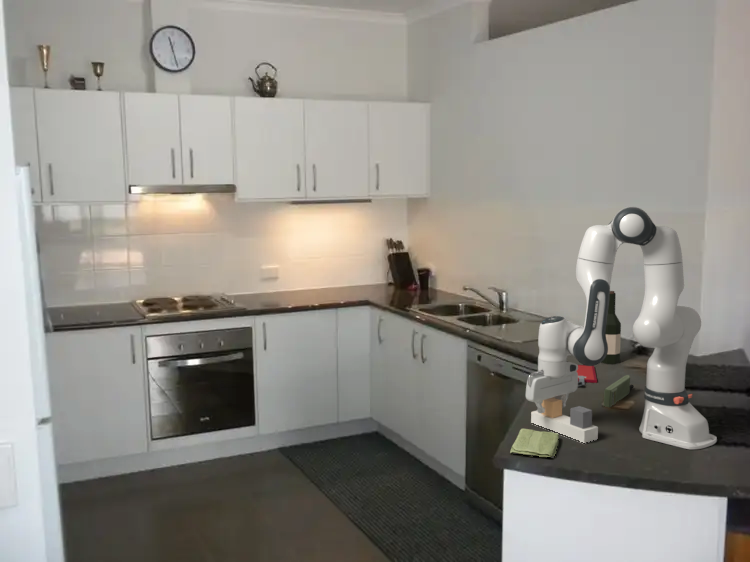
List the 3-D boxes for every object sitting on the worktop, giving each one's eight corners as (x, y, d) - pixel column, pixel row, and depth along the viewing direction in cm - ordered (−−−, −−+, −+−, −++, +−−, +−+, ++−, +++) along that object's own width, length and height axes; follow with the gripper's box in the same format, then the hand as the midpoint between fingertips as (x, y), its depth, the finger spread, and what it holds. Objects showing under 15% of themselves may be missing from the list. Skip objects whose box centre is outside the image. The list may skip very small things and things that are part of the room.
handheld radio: (601, 406, 258) (627, 388, 278) (611, 408, 256) (635, 390, 276) (602, 388, 257) (628, 371, 276) (612, 390, 255) (637, 373, 274)
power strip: (597, 439, 228) (598, 424, 227) (584, 443, 224) (584, 429, 224) (544, 419, 246) (544, 406, 245) (531, 423, 242) (531, 410, 242)
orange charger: (561, 421, 238) (562, 400, 237) (553, 424, 236) (553, 402, 235) (550, 417, 242) (550, 396, 241) (541, 420, 240) (541, 398, 239)
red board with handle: (556, 387, 281) (597, 389, 278) (556, 380, 281) (598, 382, 277) (556, 366, 310) (593, 368, 307) (556, 360, 310) (594, 362, 306)
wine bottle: (622, 360, 315) (624, 290, 310) (617, 365, 308) (619, 293, 304) (602, 358, 320) (604, 289, 315) (596, 362, 313) (598, 292, 308)
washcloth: (508, 457, 217) (508, 446, 217) (519, 436, 233) (519, 426, 233) (554, 462, 212) (554, 451, 212) (562, 440, 229) (562, 430, 228)
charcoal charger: (591, 432, 228) (592, 410, 227) (582, 435, 226) (583, 412, 225) (578, 427, 232) (579, 405, 231) (570, 430, 230) (570, 408, 229)
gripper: (535, 375, 228) (535, 419, 230) (581, 364, 239) (581, 406, 241) (521, 371, 233) (520, 413, 235) (566, 360, 244) (566, 401, 246)
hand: (551, 409), depth 238 cm, fingers open, 8 cm apart
